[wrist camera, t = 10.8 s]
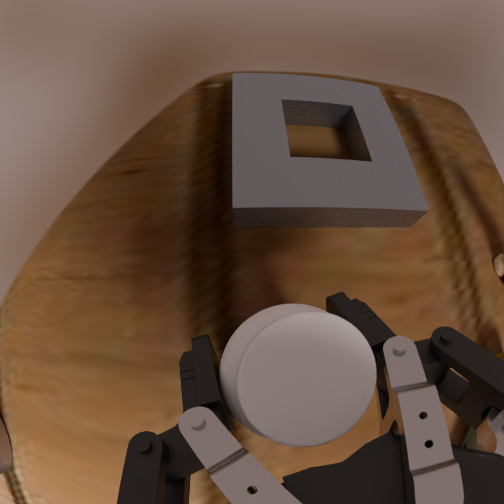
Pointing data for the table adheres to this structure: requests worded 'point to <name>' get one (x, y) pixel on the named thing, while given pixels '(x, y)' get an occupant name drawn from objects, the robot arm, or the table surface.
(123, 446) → the table surface
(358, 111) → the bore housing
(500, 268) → the grandmother figurine
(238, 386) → the supplement bottle
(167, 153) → the table surface
